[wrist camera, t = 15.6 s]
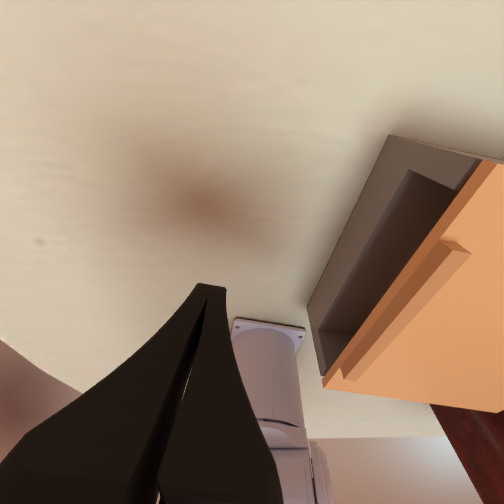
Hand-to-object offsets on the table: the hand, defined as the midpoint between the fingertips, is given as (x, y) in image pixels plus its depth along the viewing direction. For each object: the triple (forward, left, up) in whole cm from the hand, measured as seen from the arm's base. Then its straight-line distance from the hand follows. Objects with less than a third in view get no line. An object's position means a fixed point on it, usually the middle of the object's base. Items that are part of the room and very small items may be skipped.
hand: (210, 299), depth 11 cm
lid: (0, -16, -1) cm, 16 cm away
